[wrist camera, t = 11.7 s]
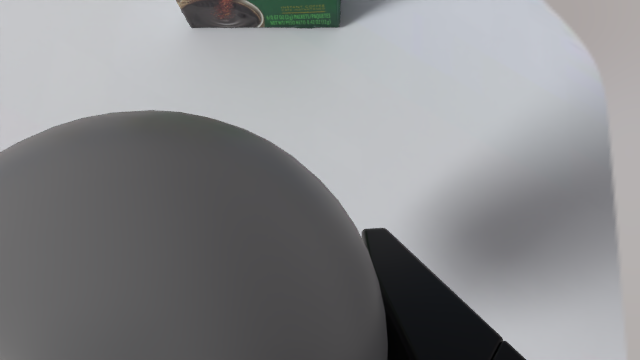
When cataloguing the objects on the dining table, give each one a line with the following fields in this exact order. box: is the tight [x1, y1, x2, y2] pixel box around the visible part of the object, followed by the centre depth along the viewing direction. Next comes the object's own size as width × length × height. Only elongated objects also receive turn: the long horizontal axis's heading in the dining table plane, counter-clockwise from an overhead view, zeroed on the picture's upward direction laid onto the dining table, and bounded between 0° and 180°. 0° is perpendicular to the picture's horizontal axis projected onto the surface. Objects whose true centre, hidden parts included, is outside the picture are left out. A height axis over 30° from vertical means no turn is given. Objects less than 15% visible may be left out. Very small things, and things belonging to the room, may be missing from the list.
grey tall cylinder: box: [0, 110, 388, 360], centre depth 9 cm, size 5×5×12 cm
